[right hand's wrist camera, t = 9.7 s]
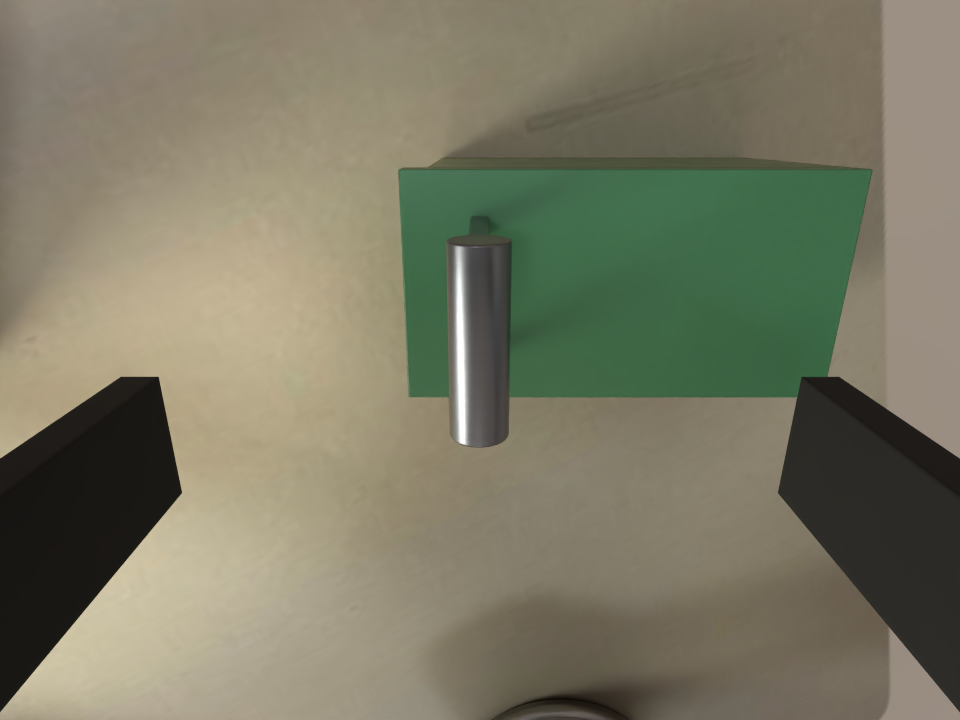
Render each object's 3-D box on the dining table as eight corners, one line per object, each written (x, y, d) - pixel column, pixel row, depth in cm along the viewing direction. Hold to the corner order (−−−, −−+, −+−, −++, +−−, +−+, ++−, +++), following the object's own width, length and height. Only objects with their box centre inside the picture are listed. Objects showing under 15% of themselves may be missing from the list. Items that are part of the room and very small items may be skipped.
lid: (411, 386, 27) (382, 492, 19) (402, 167, 24) (361, 184, 16) (808, 386, 27) (946, 492, 19) (854, 167, 24) (1044, 184, 16)
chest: (444, 320, 36) (432, 385, 27) (441, 157, 33) (425, 167, 24) (723, 320, 36) (808, 386, 27) (747, 158, 33) (853, 167, 24)
